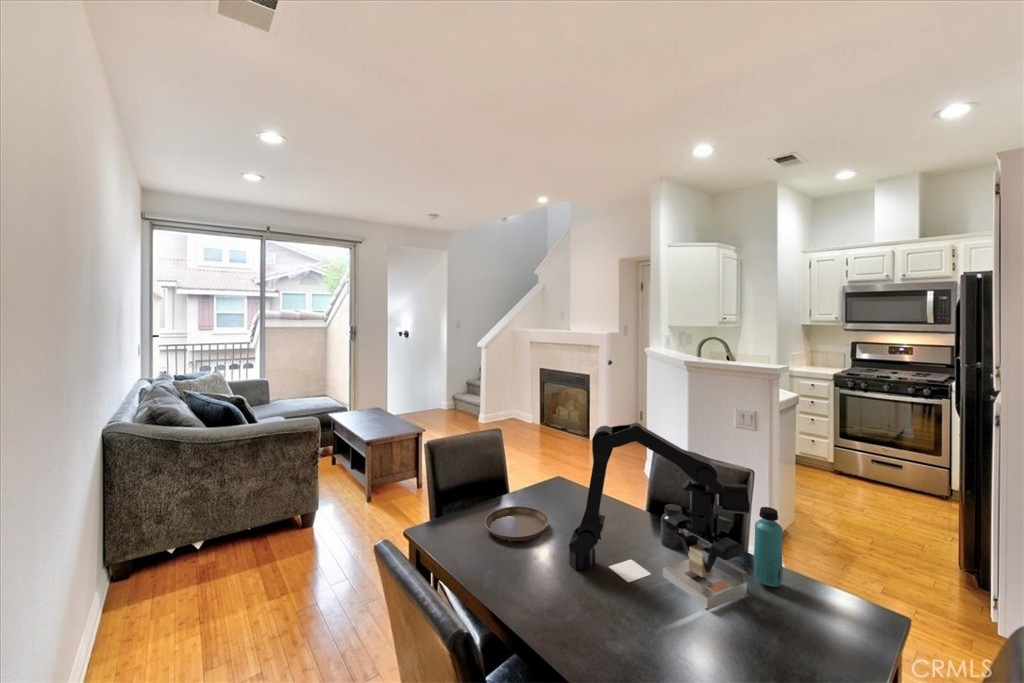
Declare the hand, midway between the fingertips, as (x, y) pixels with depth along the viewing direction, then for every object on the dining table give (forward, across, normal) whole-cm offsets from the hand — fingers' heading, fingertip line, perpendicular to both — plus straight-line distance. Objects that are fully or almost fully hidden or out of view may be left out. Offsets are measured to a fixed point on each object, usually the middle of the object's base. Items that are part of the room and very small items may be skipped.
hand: (701, 567), depth 113 cm
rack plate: (+5, 0, -1) cm, 5 cm away
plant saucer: (+6, +49, +28) cm, 57 cm away
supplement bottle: (+5, +18, -9) cm, 21 cm away
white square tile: (+5, +13, +12) cm, 18 cm away
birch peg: (+1, 0, 0) cm, 1 cm away
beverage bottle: (+5, -7, -16) cm, 18 cm away
